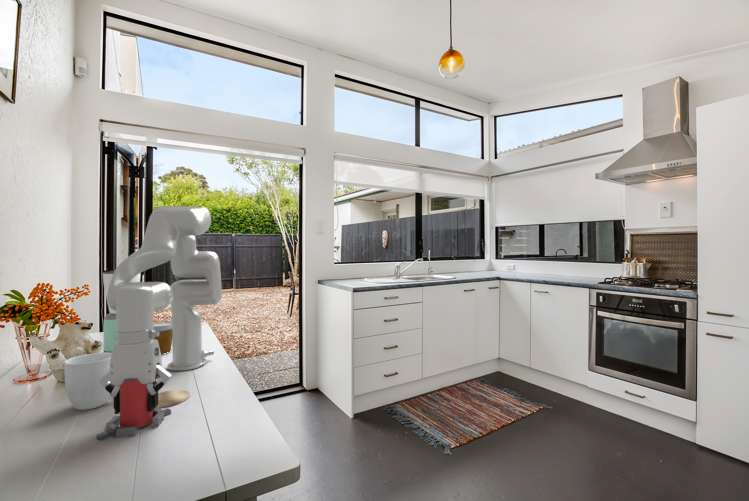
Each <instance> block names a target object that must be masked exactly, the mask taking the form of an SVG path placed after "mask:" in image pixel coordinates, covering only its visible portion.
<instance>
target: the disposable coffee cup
mask: <svg viewBox="0 0 749 501" xmlns="http://www.w3.org/2000/svg"><path fill="white" fill-rule="evenodd" d="M154 328H155V331H159V333H160V334H159V336H158V337H155V338H154V339H156V340H158V343H159V347H160V352H161V354H162V355H164V354H163V353H167V352H170V351H171V352H172V321H164V322H155V323H154ZM171 352H170V353H171ZM167 354H168V353H167Z"/></svg>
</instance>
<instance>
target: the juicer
mask: <svg viewBox="0 0 749 501" xmlns="http://www.w3.org/2000/svg"><path fill="white" fill-rule="evenodd" d="M114 271H115V270H111V271H103V272H101V274H102V282H103V287H104V292H105V296H106V297H105V298H106V299H107V293H108V288H109V285H110V282H111V279H112V276H113V273H114ZM141 274H142V272H141V273H139V274H138V275H136V276H135V277H134V278H133V279H132V280H131V281H130V282H141V276H142V275H141ZM107 308H108V312H109V313H107V314H106V315H105V317H104V318H103V326H102V327H103V328H102V329H103V337H102V338H103V342H102V343H103V352H109V353H112V350H113V346H114V344H116V311H114V310H112V309H111V308H110V307H109V306H108V305H107Z"/></svg>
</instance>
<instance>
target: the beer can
mask: <svg viewBox="0 0 749 501" xmlns="http://www.w3.org/2000/svg"><path fill="white" fill-rule="evenodd" d="M148 395H150V392H149V391H148V389H147V387H146V385H145V384H142V383H141V382H140V381H138V379H124V382H123V383H122V384H121V385H120V413H119V416H120V425H119V427H120V426H129V425H137V430H139V429H142V428H145V427H147V426H148V425H150V423H152V422H153V411H152V412H148Z"/></svg>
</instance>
